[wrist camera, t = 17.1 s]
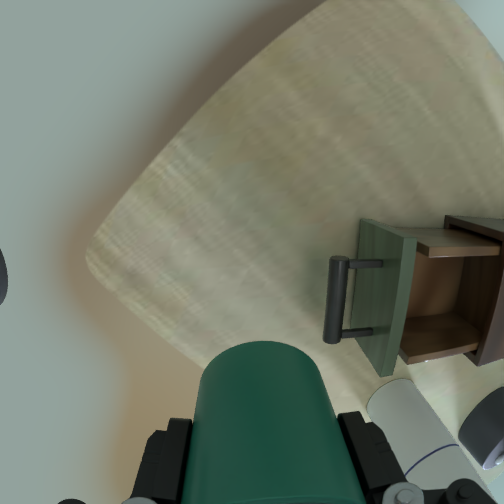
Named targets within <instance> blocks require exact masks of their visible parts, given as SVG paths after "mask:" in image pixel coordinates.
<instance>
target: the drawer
mask: <svg viewBox="0 0 504 504" xmlns="http://www.w3.org/2000/svg"><path fill="white" fill-rule="evenodd" d="M502 243H503V241H500V240H497V239H494V238H491V237H488V236H486V235H483V234H480V233H477V232H473V231H470V230H460V229H425V228H392V227H390V226H387V225H385V224H382V223H380V222H377V221H374V220H372V219H361V223H360V239H359V252H358V259H349V258H348V257H345V256H331V257H330V259H329V274H328V287H327V299H326V310H325V321H324V331H323V341H324V342H325V343H328V344H337V343H339V342H340V340H341V338H342V339H343V338H355V340H356V341H357V343H358V344H359V346H360V347H361V349H362V350H363V352H364V353H365V355H366V356H367V358H368V359H369V361H370V362H371V364H372V366H373V367H374V369H375V370H376V372H377V373H378V375H379V376H380V377H385V376H391V375H393V371H394V367H395V363H396V359H397V355H399V356H400V357H401V358H402V360H403V361H404V362H405V363H406V364H407V365H409V364H414V363H420V362H425V361H430V360H434V359H439V358H444V357H448V356H452V355H457V354H461V353H465V352H469V351H473V350H477V349H478V347H479V344H480V341H481V338H482V335H483V331H484V328H485V324H486V321H487V317H488V313H489V309H490V305H491V301H492V297H493V293H494V288H495V283H496V279H497V273H498V268H499V262H500V256H501V250H502ZM348 269H357V275H356V285H355V294H354V303H353V311H352V318H351V326H350V329H342V325H343V317H344V309H345V300H346V290H347V280H348Z"/></svg>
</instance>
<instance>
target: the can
mask: <svg viewBox="0 0 504 504" xmlns="http://www.w3.org/2000/svg"><path fill="white" fill-rule="evenodd" d="M180 504H367V503H366V500H365V497H364V495H363V492H362V489H361V486H360V483H359V480H358V477H357V474H356V471H355V469H354V466H353V463H352V460H351V457H350V454H349V451H348V449H347V446H346V443H345V440H344V437H343V435H342V432H341V429H340V426H339V423H338V421H337V418H336V415H335V412H334V410H333V407H332V404H331V401H330V399H329V396H328V393H327V391H326V388H325V385H324V382H323V380H322V377H321V374H320V372H319V370H318V367H317V366H316V364H315V363H314V361H313V360H312V359H311V358H310V357H309V356H308V355H307V354H305V353H304V352H303V351H301V350H299V349H297V348H295V347H293V346H290V345H288V344H284V343H280V342H273V341H254V342H248V343H243V344H240V345H236V346H234V347H232V348H229V349H227V350H226V351H224V352H222V353H221V354H219V355H218V356H216V357H215V358H214V359H213V360H212V361H211V362H210V363H209V364H208V366H207V367H206V368H205V370H204V372H203V374H202V377H201V380H200V386H199V392H198V397H197V402H196V408H195V414H194V420H193V426H192V432H191V438H190V444H189V450H188V456H187V462H186V469H185V475H184V482H183V488H182V495H181V501H180Z"/></svg>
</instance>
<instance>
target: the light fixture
mask: <svg viewBox="0 0 504 504" xmlns="http://www.w3.org/2000/svg"><path fill="white" fill-rule="evenodd" d="M459 440H460V442H461V443H462V444H463V445H464V446H465V448H466V449H467V450H468V451H469V452H470V454H471V455H472V456H473V457H474V458H475V460H476V461H477V462H478V463H479V464H480V466H481V467H482V468H483V469H485V470H486V469H490V468H493V467H495V466H496V465H498V464H500V463H502V462H503V461H504V387H501V388H499V389H497V390H495V391H494V392H492V393H491V394H489V395H488V396H487V397H486V398H485V399H483V400H482V401H481V402H480V403H479V404H478V405H477V406H476V407H475V409H474V410H473V411H472V412H471V413H470V414H469V416H468V417H467V419H466V420H465V422H464V423H463V425H462V427H461V429H460V432H459Z"/></svg>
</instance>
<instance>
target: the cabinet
mask: <svg viewBox="0 0 504 504" xmlns="http://www.w3.org/2000/svg"><path fill="white" fill-rule="evenodd" d="M444 229H460V230H470V231H473V232H477V233H480V234H483V235H486V236H488V237H491V238H494V239H497V240H500V241H503V243H502V250H501V256H500V262H499V268H498V273H497V279H496V283H495V288H494V293H493V297H492V301H491V305H490V309H489V313H488V317H487V321H486V324H485V328H484V331H483V335H482V338H481V341H480V344H479V347H478V349H477V350H473V351H469V352H465V353H463V354H464V355H465V356H466V357H467V358H468V359H469V360H471V361H472V362H473V363H474V364H475V365H476V366H477V367H478V366H481V365H485V364H488V363H491V362H494V361H497V360H500V359H503V358H504V219H495V218H482V217H468V216H452V215H445V224H444Z"/></svg>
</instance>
